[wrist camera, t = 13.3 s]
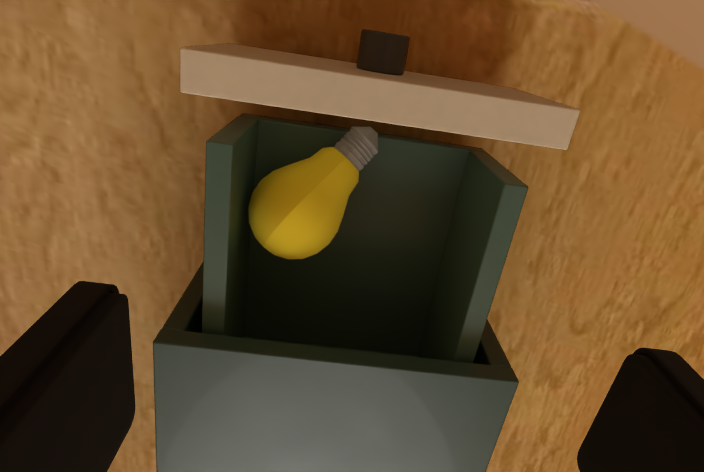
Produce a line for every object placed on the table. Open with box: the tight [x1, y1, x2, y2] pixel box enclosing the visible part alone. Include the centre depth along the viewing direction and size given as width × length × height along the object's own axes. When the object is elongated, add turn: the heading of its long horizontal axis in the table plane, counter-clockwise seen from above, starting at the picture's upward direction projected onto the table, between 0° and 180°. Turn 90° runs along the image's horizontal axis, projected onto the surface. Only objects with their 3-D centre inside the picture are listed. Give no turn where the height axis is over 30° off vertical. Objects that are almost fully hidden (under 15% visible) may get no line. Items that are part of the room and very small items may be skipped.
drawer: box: [180, 29, 580, 363], centre depth 18 cm, size 15×11×6 cm
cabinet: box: [153, 261, 519, 472], centre depth 22 cm, size 15×13×8 cm
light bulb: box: [248, 126, 378, 259], centre depth 17 cm, size 3×6×4 cm
